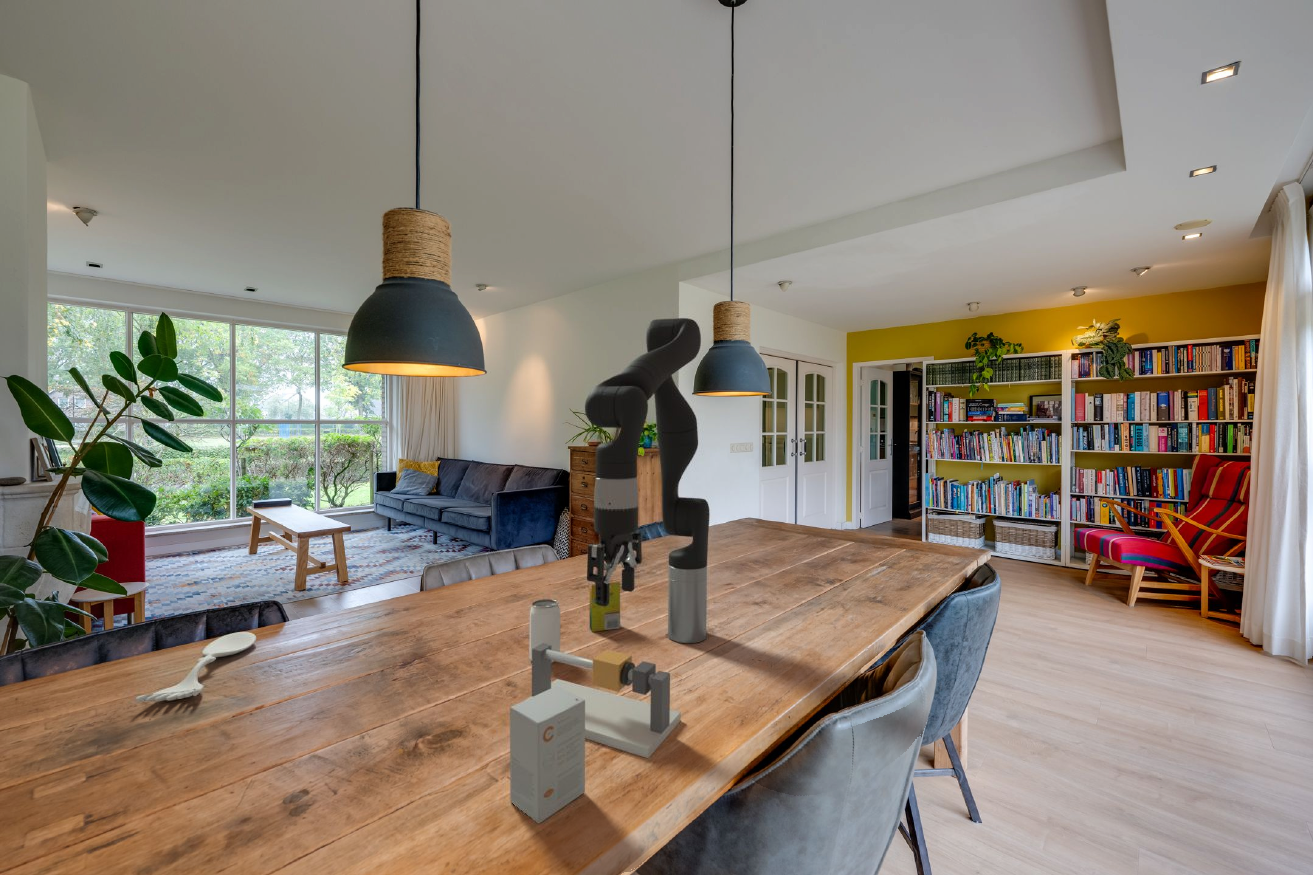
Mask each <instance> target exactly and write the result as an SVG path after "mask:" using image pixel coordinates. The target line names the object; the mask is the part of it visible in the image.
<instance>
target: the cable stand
mask: <svg viewBox="0 0 1313 875" xmlns="http://www.w3.org/2000/svg"><path fill="white" fill-rule="evenodd" d="M551 660H553V661H556V662H558V663H563V664H566V665H570V666H573V667H578V668H581V669H586V670H591V671H593V659H590V658H586V657H581V656H577V655H573V654H571V653H570V654H569V653H565V652H561V651H560V652H558V651H553V650H551V645H548V644H544V643H542V644H540V645H538V646H537V647H535V648H533V649H532V661H531V696H529V697H528V698H526V699H525V700H527V699H529V698H532V697H534V696H536V695H538V694H540V693H542V692H544V691H547V690H549V689H551V688H553V687H555V686H557V687H560V688H562V689H564V690H566V691H568V692H570V693H572V694H574V695H577V696H579V697H580V698H582V699H584V700H585V740H586V739H587V740H589V741H592V742H596V743H599V744H602V745H605V746H609V747H611V748H613V749H616V750H617V749H618V750H620V751H624V752H627V753H630V754H633V755H635V756H639V757H643V758H646V759H650V757H652V755H653V754H654V752H655V751H656V750H657V749H658V748H659V747H660V745H662V743H663V742H664V741H665V739H667V737H668V736H669V735H670V734H671V732H672V731H674V729H675V728H676V727H677V726H678V724H679V723H680V722H681V719H682V718H681V714H682V712H681V711H679V710H674V709H673V708H672V709H670V708H671V672H666V671H663V670H658V671H657V672H656V670H657V669H656V668H657V667H656V666H657V665H656V663H653V662H648V661H641V662H640V663H639V664H637V665H635V663H634V662H632V663H631V662H626V663H625V665H624V666H623V668H622V671H621V683H622V684H623V685H626V686H627V687H629V686H632V687H631V690H632V691H631V692H633V693H636V694H641V695H643V696H646V695H647V694H648V693H649V692H650V703H648V702H645V701H641V700H637V699H633V698H630V697H626V696H622V695H618V694H616V693H611V692H608V691H605V690H599V689H596V688H593V687H589V686H584V685H581V684H578V683H573V682H570V681H567V680H563V679H560V678H557V679H554V680H553V681H552V663H551ZM626 686H625V687H626Z"/></svg>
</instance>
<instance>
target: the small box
mask: <svg viewBox="0 0 1313 875" xmlns="http://www.w3.org/2000/svg"><path fill="white" fill-rule="evenodd" d="M528 698H529V697H528ZM528 698H526V699H527V700H526V699H524V701H521V702H518V703H516V704H515V705H513V706H510V707H509V741H510V742H509V750H510V752H509V754H510V758H509V761H510V762H509V764H510V765H509V770H510V771H509V772H510V774H509V775H510V776H509V784H510V788H509V789H510V790H509V791H510V792H509V794H510V795H509V797H510V798H509V799H510V803H511V802H512V803H513V804H514V805H516V806H517V807H518V808H519V809H518V808H517V807H516V806H515V807H516V808H517V809H518V810H520V811H521V810H522V811H523V812H522V811H521V812H522V813H523V814H525V813H526V814H527V815H528V817H529V816H530V817H531V818H532V819H531V818H530V817H529V818H530V819H531V820H533V821H534V822H535V821H536V823H537V824H539V825H540V824H541V823H543V822H544V821H545V820H547V819H548V818H550V817H551V816H553V815H554V814H556V813H558V811H560V810H561V809H562V808H564V807H566V806H567V805H568V804H570V803H571V802H573V801H574V800H576V799H577V798H579V797H580V796H582V795H583V794H584V793H586V787H585V786H586V738H585V700H584V699H582V698H580V697H579V696H577V695H574V694H572V693H570V692H568V691H566V690H564V689H562V688H560V687H557V686H555V687H553V688H551V689H549V690H547V691H544V692H542V693H540V694H538V695H536V696H534V697H532V698H529V699H528ZM512 803H511V804H512ZM513 804H512V805H513ZM514 805H513V806H514ZM526 814H525V815H526ZM527 815H526V816H527Z"/></svg>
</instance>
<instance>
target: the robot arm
mask: <svg viewBox="0 0 1313 875" xmlns="http://www.w3.org/2000/svg"><path fill="white" fill-rule="evenodd" d="M645 339H646V343H645V344H646V350H647V352H645V353H644V354H641V355H639V356H638V357H636V358H635V359H634V360H632V361H631V362H630V363H629V364H628V365H627V366H626V367H625V368H624V369H623V370H622V371H621V372H620V373H619V374H616V375H613V376H612V377H610V378H608V379H605V380H603V381H602V382H599V384H597V385H595V386H594V387H593V388H592V389H591V390H590V392H589V393H588V395H587V397H586V400H585V404H584V412H585V416H586V419H588V421H589V422H590V424H592V426H593V425H594V426H595V427H598V428H604V429H605V428H607V429H612V428H615V429H616V428H617V429H620V431H619V434H618V436H617V438H615V440H612V441H611V440H609V441H607V442H602V443H599V444H598V445H597V447H596V449H595V481H594V482H595V484H594V489H593V490H594V491H593V493H594V494H593V500H594V501H593V503H594V504H593V528H594V532H596V533H598V534H599V536H600V537H599V543H598V544H595V543H594V544H593V543H590V544H588V546H587V569H586V580H587V581H588V582H592V583H594V584H595V585H596V604H597V605H600V606H607V605H609V588H610V586H609V583H610V579H611V577H612V575H613V573H614V572H615V571H617V567H618V565H619V564H620V566H621V567H622V569H621V589H622V591H624V592H628V593H629V592H630V593H632V592H633V591H635V570H637V567H638V565H641V564H642V561H643V558H642V553H643V552H642V551H643V550H642V548H643V547H642V532H641V531H638V529H639V486H638V485H639V484H638V451H639V446H640V442H641V437H642V434H643V430H644V428H645V424H646V421H647V415H648V412H649V400H650V399H651V398H652V396H654V405H655V425H656V436H657V446H658V454H659V463H660V474H661V477H660V478H661V514H662V515H661V516H662V517H661V518H662V519H661V520H662V527H663V529H664V532H666V534H667V535H669V536H675V537H677V536H678V537H689V538H692V542H691V543H690V544H689V545H687V546H684V547H680V548H677V549H673V550H672V551H671V552H669V554H668V578H667V579H668V587H667V591H668V593H667V596H668V597H667V600H668V602H667V637H668V639H670V640H672V641H674V642H678V643H683V644H694V643H700V642H703V641H704V640H706V638H707V615H708V614H707V610H708V609H707V608H708V606H707V604H708V603H707V598H708V597H707V596H708V595H707V594H708V550H709V547H708V546H709V531H710V530H709V528H710V506H709V503H708V501H707V500H706V499H705V498H701V497H700V498H699V497H698V498H697V497H681V496H679V494H678V493H679V484H680V481H681V479H682V477H683V475H684V473H685V472H686V470H687V468H688V467H689V466H690V463H691V461H692V460H693V458H694V456H695V454H696V453H697V450H698V446H699V434H698V433H699V431H698V421H697V420H698V418H697V416H696V414H695V412H694V411H693V408H692V407H691V405H690V404H689V402H688V401H687V400H686V398H685V397H684V395H683V394H682V393H681V391H680V390H679V388H678V387H677V385H676V383H675V380H674V378H673V375H674V374H675V373H676V372H677V371H680V370H681V369H682V368H683V367H685V366H687V365H688V364H689V363H691V362H693V360H695V359H696V358H697V356H698V354H699V352H700V350H701V345H702V344H701V343H702V335H701V330H700V326H699V325H698V323H697V321H695V320H694V319H691V318H686V317H682V318H681V317H680V318H659V319H658V318H657V319H653V320H651V321H650V322H649V324H648V325H647V329H646V338H645ZM594 568H596V569H595V571H594ZM604 572H605V573H604Z"/></svg>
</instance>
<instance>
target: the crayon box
mask: <svg viewBox="0 0 1313 875" xmlns="http://www.w3.org/2000/svg"><path fill="white" fill-rule="evenodd" d="M620 584H621V583H620V581H616V582H609V605H607V606H600V605H597V604H596V585H595V583H594V584H591V589H589V592H588V593H589V630H590V631H591V633H594V632H600V631H608V630H616V629H617V630H620V629H621V588H620V587H621V586H620ZM610 586H611V587H610Z"/></svg>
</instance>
